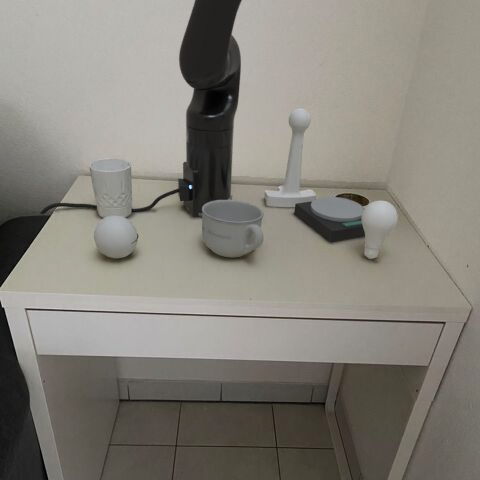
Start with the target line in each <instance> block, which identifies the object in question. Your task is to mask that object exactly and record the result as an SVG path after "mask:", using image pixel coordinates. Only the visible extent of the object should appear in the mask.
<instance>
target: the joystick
mask: <svg viewBox="0 0 480 480" xmlns="http://www.w3.org/2000/svg"><path fill="white" fill-rule="evenodd" d="M311 121H312V119H311V115H310V113H309V111H308V110H306V109H305V108H302V107H298V108H295V109H293V110H292V111H291V112H290V114H289V116H288V125H289V127H290V129H291V132H292V133H291V140H290V145H289V152H288V158H287V163H286V170H285V177H284V182H283V184H282V185H279V186H278V187H277V190H270V189H265V190H264V195H263V198H264V199H263V200H265V205H266V206H267V207H273V208H274V207H275V208H295V204H296V203H304V202H311V201H314V200H315V199H317V194H316V192H315V191H314V190H313V189H309V188H308V189H303V190H301V177H302V162H303V150H304V149H303V148H304V135H305V132H306V131H307V130H308V128H309V127H310V126H311Z"/></svg>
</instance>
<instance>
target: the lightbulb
mask: <svg viewBox="0 0 480 480" xmlns="http://www.w3.org/2000/svg"><path fill="white" fill-rule="evenodd" d="M364 208H365V209H364V211H363V213H362V217H361V221H362V225H363V228H364V231H365V236H364V252H363V255H364V256H365V257H366V258H367V259H369V260H373V259H376V258H378V257H379V254H380V250H381V248H382V247H383V245H384V242H385V240H386V238H387V237H388V235H390V233H391V232H392V231H393V230H394V229H395V228H396V225H397V223H398V220H399V219H398V218H399V217H398V211H397V209H396V207H395V206H394V205H393V204H392V203H390V202H389V201H387V200H382V199H381V200H375V201H372V202H370V203H369V204H368V205H366V207H364Z"/></svg>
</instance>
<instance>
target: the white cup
mask: <svg viewBox="0 0 480 480" xmlns="http://www.w3.org/2000/svg"><path fill="white" fill-rule="evenodd" d="M88 167H89V168H88V169H89V173H90V178H91V185H92V189H93V190H92V191H93V193H94V195H93V196H94V200H95V203H96V204H95V205H97V209H96V211H97V214H98V216H99V217H100V218H102V219H103V218H105V217H108V216H112V215H117V216H122V217H125V218H126V219H127V218H128V217H130V216H131V215H132V213H133V212H132V209H133V208H132V205H133V204H132V202H133V183H132V182H133V179H132V177H133V176H132V164H131V162H130V161H128V160H126V159H122V158H117V157H115V158H114V157H107V158H99V159H95V160H93V161H91V162H90V163H89V164H88Z"/></svg>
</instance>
